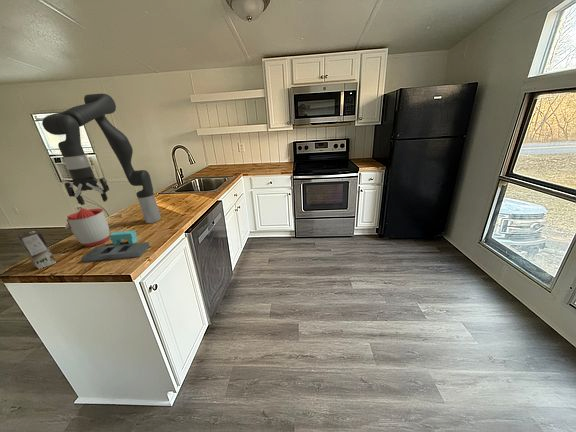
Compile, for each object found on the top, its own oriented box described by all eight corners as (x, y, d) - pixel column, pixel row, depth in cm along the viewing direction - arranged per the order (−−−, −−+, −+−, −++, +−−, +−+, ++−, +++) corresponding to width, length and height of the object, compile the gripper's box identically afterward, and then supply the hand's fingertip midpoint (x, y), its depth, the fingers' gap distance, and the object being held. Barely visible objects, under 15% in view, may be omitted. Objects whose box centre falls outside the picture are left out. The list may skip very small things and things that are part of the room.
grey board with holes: (98, 251, 118) (96, 246, 117) (149, 246, 119) (148, 242, 118) (83, 262, 108) (81, 257, 108) (139, 256, 110) (138, 252, 109)
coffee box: (57, 262, 110) (41, 232, 104) (38, 269, 105) (20, 238, 99) (51, 258, 114) (35, 228, 108) (33, 264, 109) (15, 234, 103)
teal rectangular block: (118, 241, 127) (114, 231, 124) (138, 239, 127) (135, 230, 125) (112, 245, 122) (108, 235, 120) (134, 243, 123) (130, 233, 121)
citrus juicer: (74, 243, 128) (59, 209, 121) (112, 232, 138) (100, 201, 131) (74, 253, 117) (56, 217, 109) (115, 241, 127) (101, 207, 119)
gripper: (102, 163, 103) (115, 197, 109) (63, 167, 98) (79, 203, 105) (95, 166, 96) (109, 202, 102) (53, 170, 92) (71, 208, 98)
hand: (94, 202), depth 104 cm, fingers open, 8 cm apart
